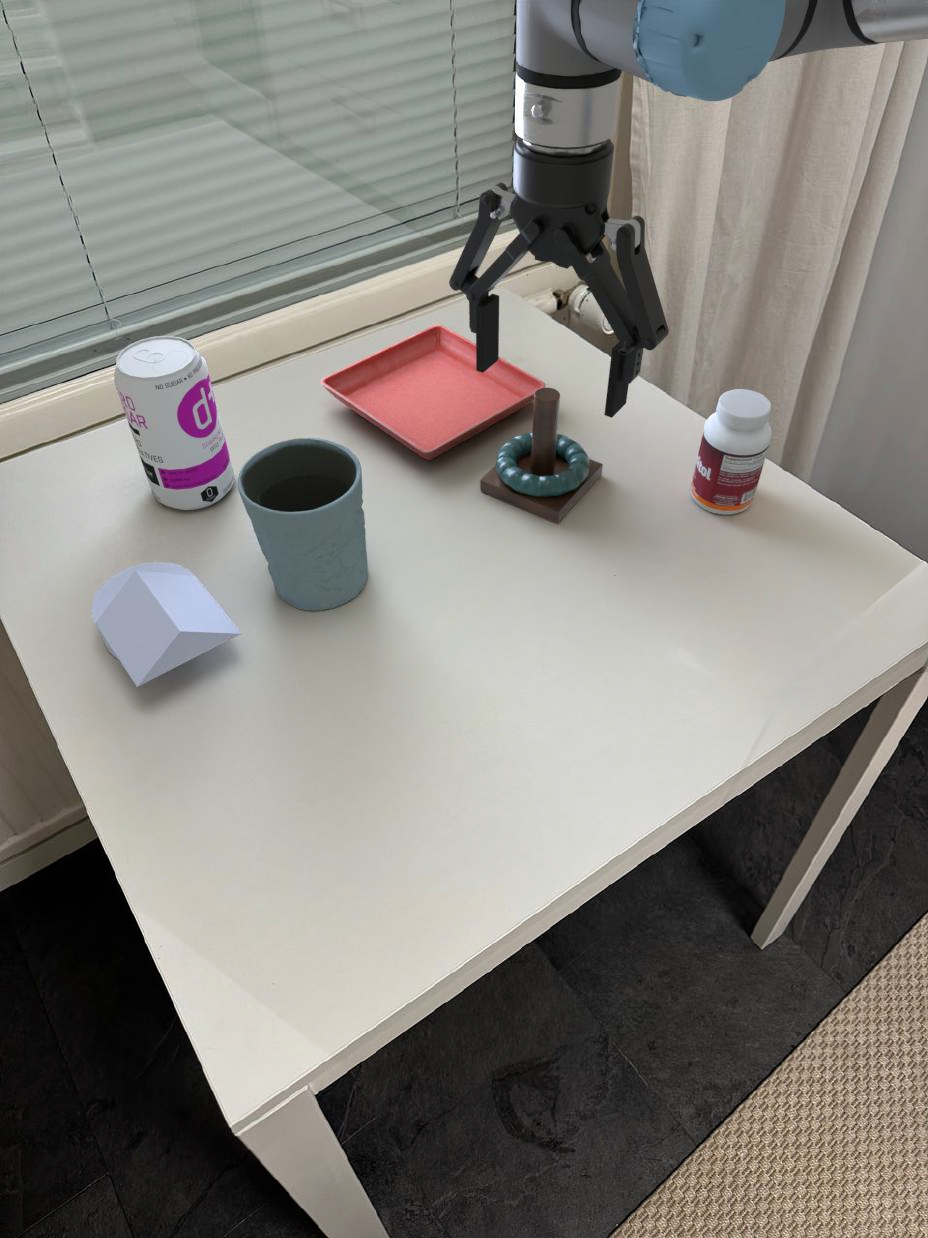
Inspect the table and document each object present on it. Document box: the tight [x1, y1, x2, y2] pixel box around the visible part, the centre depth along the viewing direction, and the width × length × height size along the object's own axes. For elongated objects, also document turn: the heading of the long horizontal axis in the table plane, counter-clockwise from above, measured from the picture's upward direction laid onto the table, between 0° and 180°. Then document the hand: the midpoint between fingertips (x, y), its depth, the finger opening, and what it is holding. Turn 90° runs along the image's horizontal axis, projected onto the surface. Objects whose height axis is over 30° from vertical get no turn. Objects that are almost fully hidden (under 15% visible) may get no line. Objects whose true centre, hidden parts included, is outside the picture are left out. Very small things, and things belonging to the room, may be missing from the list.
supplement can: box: [113, 335, 236, 511], centre depth 85 cm, size 8×8×15 cm
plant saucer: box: [320, 324, 546, 461], centre depth 99 cm, size 18×18×3 cm
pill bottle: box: [690, 388, 773, 515], centre depth 85 cm, size 6×6×11 cm
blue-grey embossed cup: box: [237, 437, 368, 612], centre depth 77 cm, size 10×10×12 cm
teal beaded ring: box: [495, 431, 590, 497], centre depth 89 cm, size 9×9×2 cm
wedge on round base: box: [90, 561, 242, 688], centre depth 74 cm, size 9×7×13 cm
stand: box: [479, 387, 604, 524], centre depth 87 cm, size 9×9×10 cm
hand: (549, 386), depth 82 cm, fingers open, 13 cm apart
